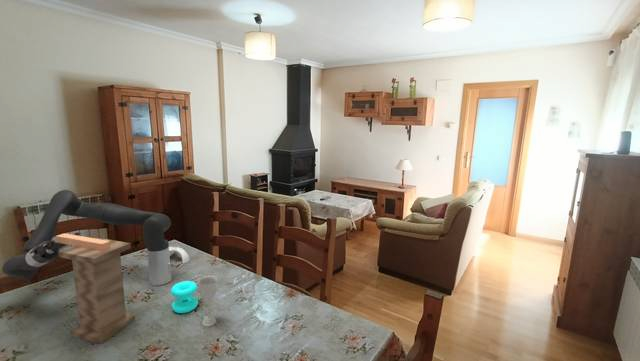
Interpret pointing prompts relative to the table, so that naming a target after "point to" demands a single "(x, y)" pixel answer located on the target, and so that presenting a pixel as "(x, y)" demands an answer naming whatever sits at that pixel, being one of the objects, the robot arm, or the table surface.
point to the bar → (83, 241)
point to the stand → (99, 291)
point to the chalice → (208, 296)
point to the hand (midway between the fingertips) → (67, 238)
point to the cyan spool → (184, 297)
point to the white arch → (184, 255)
